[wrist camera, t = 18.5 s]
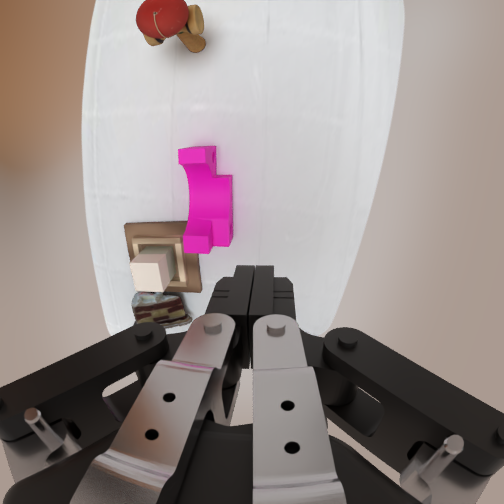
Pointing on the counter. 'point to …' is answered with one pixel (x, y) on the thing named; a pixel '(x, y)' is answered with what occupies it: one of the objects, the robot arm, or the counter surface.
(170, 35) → the kendama
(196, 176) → the toy block
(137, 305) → the chocolate cake
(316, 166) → the counter surface
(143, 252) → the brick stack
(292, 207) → the counter surface
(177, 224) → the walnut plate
